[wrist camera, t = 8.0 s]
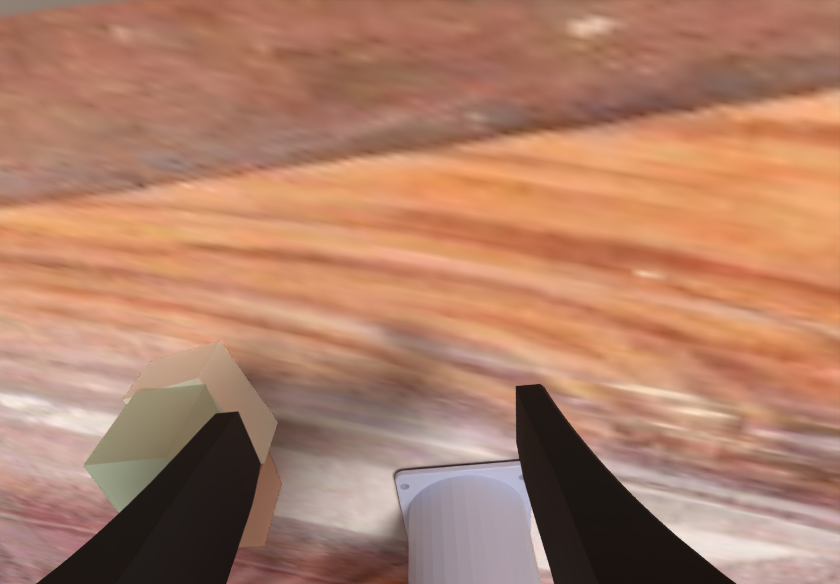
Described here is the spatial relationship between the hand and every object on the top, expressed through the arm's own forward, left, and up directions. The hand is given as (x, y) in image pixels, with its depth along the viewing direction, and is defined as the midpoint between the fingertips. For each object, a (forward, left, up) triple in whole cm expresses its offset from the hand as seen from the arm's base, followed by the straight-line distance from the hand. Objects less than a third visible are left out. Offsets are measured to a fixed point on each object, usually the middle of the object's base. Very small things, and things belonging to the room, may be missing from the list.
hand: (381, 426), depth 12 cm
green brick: (-7, +11, -7) cm, 15 cm away
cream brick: (-7, +11, -10) cm, 16 cm away
